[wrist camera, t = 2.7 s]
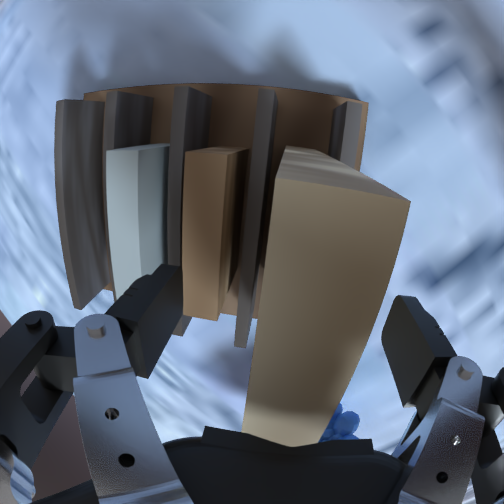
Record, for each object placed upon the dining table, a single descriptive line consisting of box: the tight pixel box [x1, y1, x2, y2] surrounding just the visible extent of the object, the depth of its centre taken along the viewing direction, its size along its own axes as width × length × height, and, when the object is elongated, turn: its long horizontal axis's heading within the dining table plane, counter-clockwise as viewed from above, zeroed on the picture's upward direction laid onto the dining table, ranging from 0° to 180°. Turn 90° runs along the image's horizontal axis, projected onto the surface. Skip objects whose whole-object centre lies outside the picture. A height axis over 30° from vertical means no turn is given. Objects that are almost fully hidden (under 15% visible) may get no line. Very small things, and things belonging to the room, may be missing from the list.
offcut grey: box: [106, 143, 170, 299], centre depth 18 cm, size 2×9×7 cm, turn 174°
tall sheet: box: [241, 145, 411, 447], centre depth 13 cm, size 2×10×16 cm, turn 174°
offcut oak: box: [182, 146, 249, 321], centre depth 18 cm, size 2×9×7 cm, turn 174°
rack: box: [54, 83, 368, 348], centre depth 19 cm, size 22×18×6 cm
